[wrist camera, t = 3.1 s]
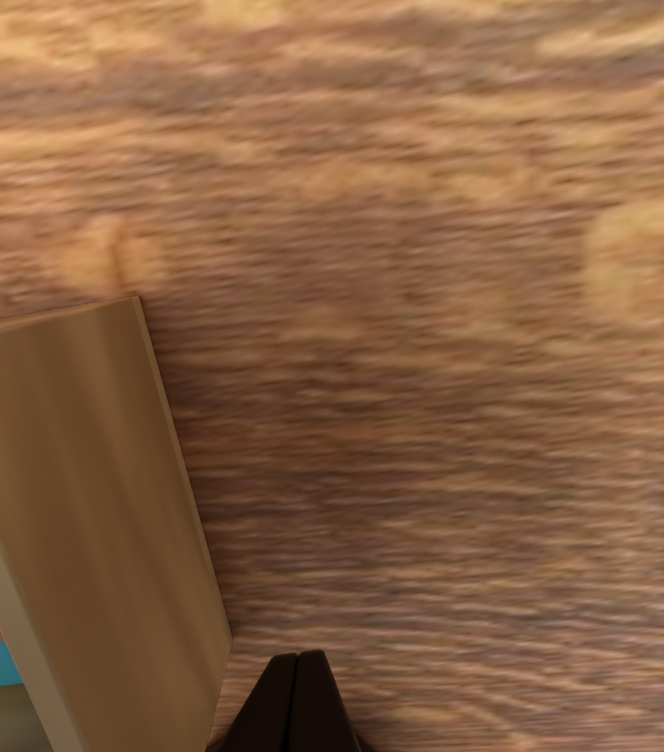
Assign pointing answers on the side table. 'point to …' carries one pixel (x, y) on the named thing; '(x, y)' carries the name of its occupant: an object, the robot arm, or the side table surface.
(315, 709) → the robot arm
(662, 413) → the side table surface
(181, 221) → the side table surface
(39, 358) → the wooden box
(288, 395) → the side table surface
